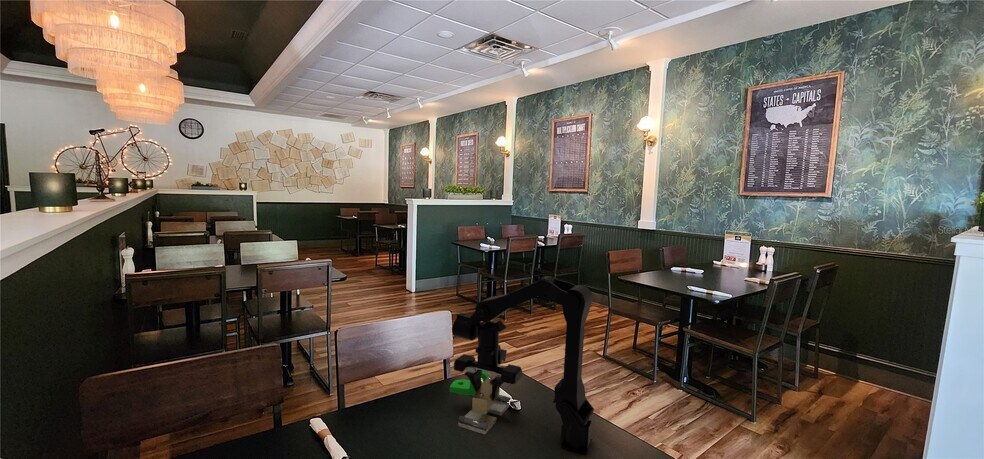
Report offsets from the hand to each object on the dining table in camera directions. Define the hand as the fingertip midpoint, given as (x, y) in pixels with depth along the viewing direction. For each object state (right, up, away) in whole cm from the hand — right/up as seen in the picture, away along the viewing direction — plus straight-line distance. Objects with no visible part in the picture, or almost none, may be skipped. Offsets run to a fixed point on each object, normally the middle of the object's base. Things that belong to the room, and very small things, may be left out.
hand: (486, 397), depth 115 cm
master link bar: (0, -1, 0) cm, 1 cm away
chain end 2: (+2, -5, +5) cm, 7 cm away
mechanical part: (-5, -4, +14) cm, 16 cm away
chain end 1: (-2, -5, -4) cm, 7 cm away
